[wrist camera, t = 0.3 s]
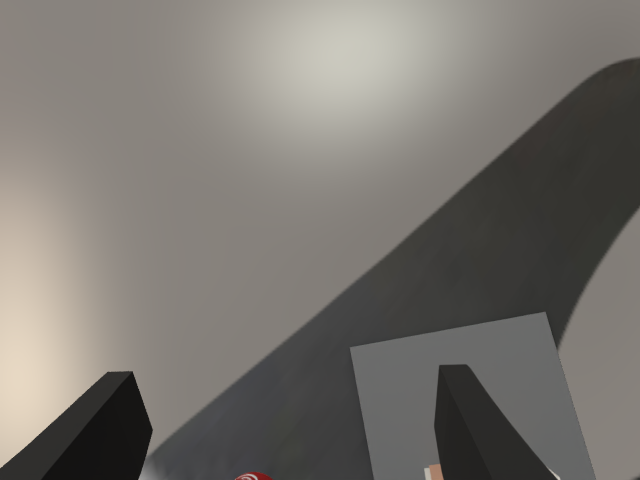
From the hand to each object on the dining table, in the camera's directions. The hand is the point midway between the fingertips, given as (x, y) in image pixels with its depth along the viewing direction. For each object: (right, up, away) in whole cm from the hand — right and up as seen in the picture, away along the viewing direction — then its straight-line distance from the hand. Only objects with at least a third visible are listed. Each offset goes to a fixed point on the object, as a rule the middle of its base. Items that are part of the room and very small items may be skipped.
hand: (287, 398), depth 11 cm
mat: (+12, -11, +25) cm, 30 cm away
